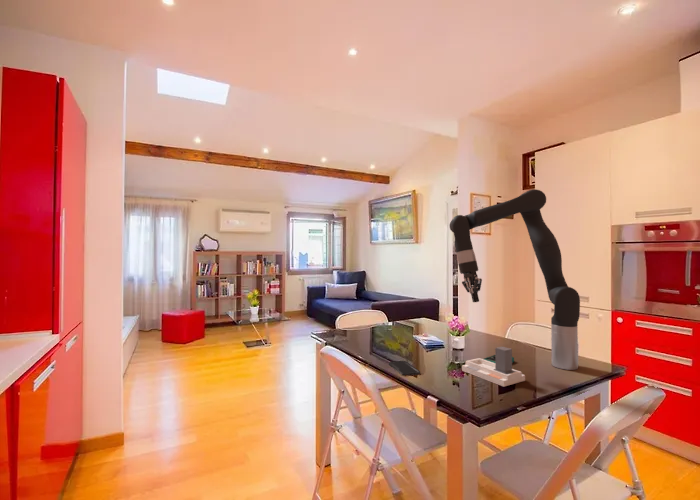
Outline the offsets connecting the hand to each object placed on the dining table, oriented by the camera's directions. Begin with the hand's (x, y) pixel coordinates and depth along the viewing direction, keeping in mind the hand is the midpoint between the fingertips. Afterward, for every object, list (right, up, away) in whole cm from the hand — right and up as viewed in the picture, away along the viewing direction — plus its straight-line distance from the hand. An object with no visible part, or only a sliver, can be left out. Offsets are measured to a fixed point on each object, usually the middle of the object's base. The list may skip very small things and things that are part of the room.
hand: (476, 301), depth 143 cm
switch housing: (+2, -26, -12) cm, 29 cm away
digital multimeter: (+10, -27, +3) cm, 29 cm away
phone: (-31, -27, -5) cm, 41 cm away
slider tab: (+4, -24, -17) cm, 29 cm away
